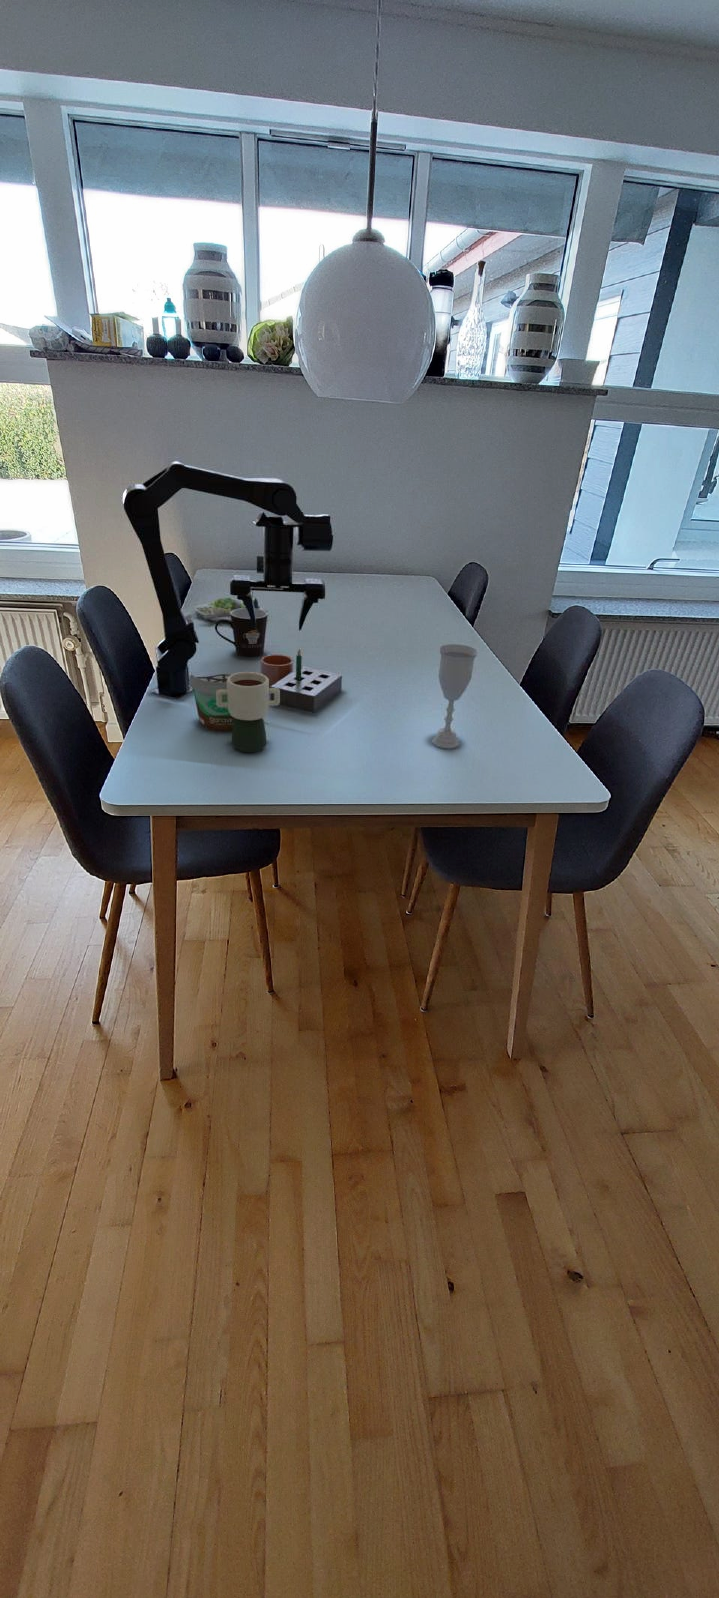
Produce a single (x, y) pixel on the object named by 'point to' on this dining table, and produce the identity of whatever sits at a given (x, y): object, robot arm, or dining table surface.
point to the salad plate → (222, 608)
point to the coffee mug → (247, 632)
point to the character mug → (248, 708)
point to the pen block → (308, 689)
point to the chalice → (453, 685)
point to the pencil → (298, 665)
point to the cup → (276, 667)
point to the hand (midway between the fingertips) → (277, 628)
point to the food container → (211, 702)
